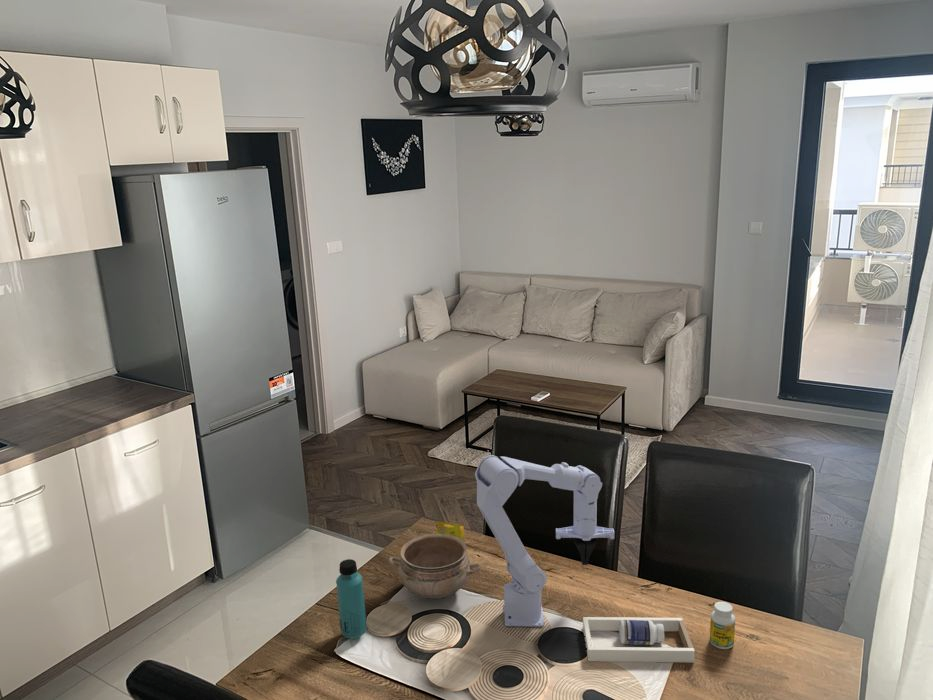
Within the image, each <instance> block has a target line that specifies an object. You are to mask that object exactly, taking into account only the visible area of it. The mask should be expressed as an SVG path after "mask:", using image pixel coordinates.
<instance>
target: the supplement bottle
mask: <svg viewBox="0 0 933 700" xmlns="http://www.w3.org/2000/svg"><path fill="white" fill-rule="evenodd" d="M733 609H734V607H733V606H732V604H730V603H729V602H725V601H716V602H715V603H714V605H713V610H712V611H711V614H710V623H709V624H710V625H709V626H710V627H709V642H710V644H711V645H712V646H713V647H715V648H718V649H720V650H729V649H731V648H733V646H734V645H735V633H736V630H735V629H736V616H735V614H733V613H734V612H733Z"/></svg>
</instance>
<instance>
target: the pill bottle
mask: <svg viewBox="0 0 933 700" xmlns="http://www.w3.org/2000/svg"><path fill="white" fill-rule="evenodd" d="M618 632H619V640H620V643H621V644H622V645H639V646H640V645H642V646H652V645H654V643H655V642H657V643H664V642H665V631H664V627H663V624H656V625H654V624H653V622H652V621H650V620H620V623H619V631H618Z"/></svg>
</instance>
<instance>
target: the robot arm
mask: <svg viewBox="0 0 933 700" xmlns="http://www.w3.org/2000/svg"><path fill="white" fill-rule="evenodd" d="M499 457H500V458H499ZM477 465H478V466H477V467H476V470H475V472H474V476H475V480H476V504H477V508H478V509H479V511H480V513H481V514H482V516H483V518H484V520H485V521H486V523H487V526H488V527H489V530H490V531H491V532H492V534H493V535H494V538H495V540H496V541H497V543H498V545H499V546H500V548H501V550H502V552H503V553H504V555H505V556H504V560H505V561H506V570H507V573H508V574H509V575H510V576H511V582H508V583H504V585H503V586H504V587H503V588H504V589H503V590H504V591H503V595H504V596H503V599H504V600H503V602H504V604H503V606H502V611H503V612H502V613H504V626H505V627H530V628H531V627H536V628H538V627H544V625H545V623H544V611H543V608H544V607H543V606H542V591H543V590H542V589H543V588H544V587H545V585H546V584H547V573H546V572H545V570H543V569H541V568H540V567H539V566H538V565H537V563H536V562H535V561H534V560H533V558H532V557H531V556H530V554H529V553H528V551H527V550H526V548H525V546H524V544H523V542H522V541H521V538H520V537H519V535H518V533H517V532H516V530H515V527H514V526H513V524H512V522H511V520H510V518H509V517H508V515H507V513H506V511H505V509H504V507H503V506H504V505H505V503H507V500H508V499H509V498H510V497H511V496H512V494H513V493H514V492H515V490H516V489H517V487H521V486H522V484H523V483H524V481H525V480H534V481H542V482H548V484H549V485H550V486H551V488H555V489H556V488H557V489H560V490H565V491H566V490H567V491H573V525H571V526H567V527H566V526H565V527H561V528H560V527H559V528H557V527H556V528H555V539H556V540H561V538H562V539H565V538H567V539H568V538H569V539H572V538H573V539H574V544H575V546H576V549H577V551H578V552H579V555H580V558H581V559H580V560H581V565H583V566H588V565H589V560H590V557H591V555H592V553H593V551H594V549H595V547H596V546H597V539H599V538H600V539H601V538H603V539H605V538H606V539H609V540H614V539H615V530H614V528H610V527H609V528H608V527H603V526H598V525H597V515H598V514H597V511H598V510H597V509H598V508H597V507H598V506H597V505H598V504H597V503H598V501H597V500H598V498H599V494H600V491H601V489H602V487H603V482H602V481H601V478H600V476H599V475H598V474H597V473H595V472H593V471H592V470H590V469H589V468H587V467H585V466H583V465H581V464H580V465H577V466H571V465H570V466H569V464H568V463H567V462H564V461H562V462H561V463H554V464H552V465H551V466H550V467H549V466H545V465H541V464H536V463H533V462H528V461H524V460H520V459H516V458H511V457H508V456H496V455H493V454H491V455H490V454H489V455H486V456H485V457H483V458H482V459H481V460H480V462H479V463H478V464H477Z"/></svg>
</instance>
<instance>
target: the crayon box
mask: <svg viewBox="0 0 933 700" xmlns="http://www.w3.org/2000/svg"><path fill="white" fill-rule="evenodd" d="M436 525H437V528H436V530H437V534H447V535H452V536H455V537H457V538H459V539H461V540H462V541H463V542H464V543H465V542H466V541H465V526H463V525H461V524H458V523H453V522H445V521H439V520H437V524H436ZM465 544H466V543H465Z"/></svg>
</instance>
